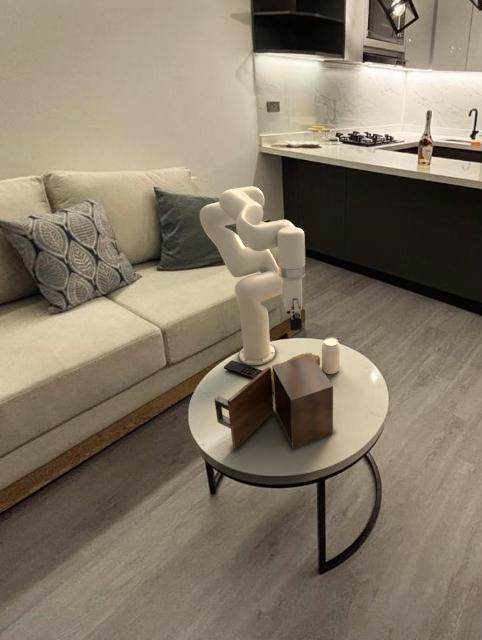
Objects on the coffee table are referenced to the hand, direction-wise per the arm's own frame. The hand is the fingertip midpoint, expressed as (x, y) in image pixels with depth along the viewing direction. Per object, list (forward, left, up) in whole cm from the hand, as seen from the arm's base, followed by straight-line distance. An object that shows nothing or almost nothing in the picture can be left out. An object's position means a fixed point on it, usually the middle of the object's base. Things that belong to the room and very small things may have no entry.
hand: (293, 321), depth 123 cm
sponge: (-5, +1, -26) cm, 27 cm away
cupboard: (+14, -3, -26) cm, 30 cm away
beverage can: (-4, +14, -26) cm, 30 cm away
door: (+7, -18, -26) cm, 33 cm away
